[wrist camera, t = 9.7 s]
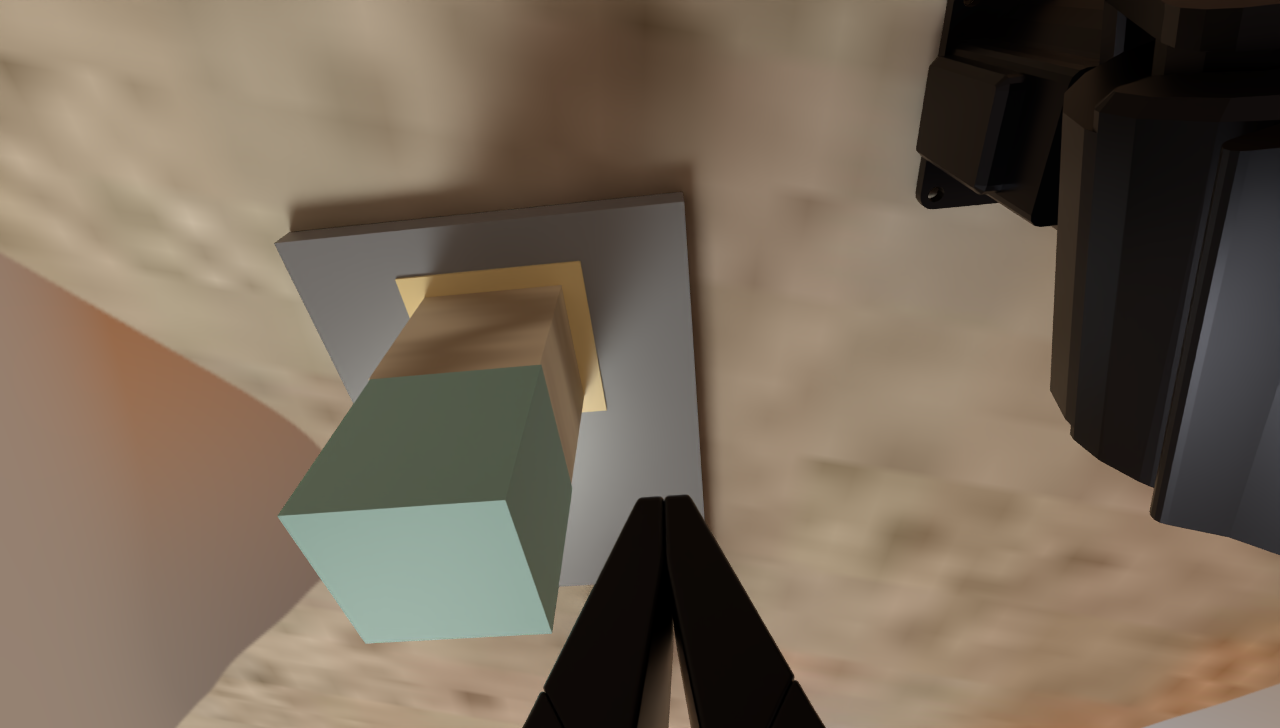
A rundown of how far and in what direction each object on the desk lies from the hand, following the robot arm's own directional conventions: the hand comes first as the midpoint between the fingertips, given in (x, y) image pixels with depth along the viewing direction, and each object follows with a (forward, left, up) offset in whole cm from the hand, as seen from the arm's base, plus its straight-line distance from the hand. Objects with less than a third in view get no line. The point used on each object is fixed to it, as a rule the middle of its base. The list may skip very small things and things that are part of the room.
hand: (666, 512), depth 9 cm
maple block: (+6, +4, -12) cm, 14 cm away
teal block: (+6, +4, -7) cm, 10 cm away
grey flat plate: (+6, +9, -13) cm, 17 cm away
